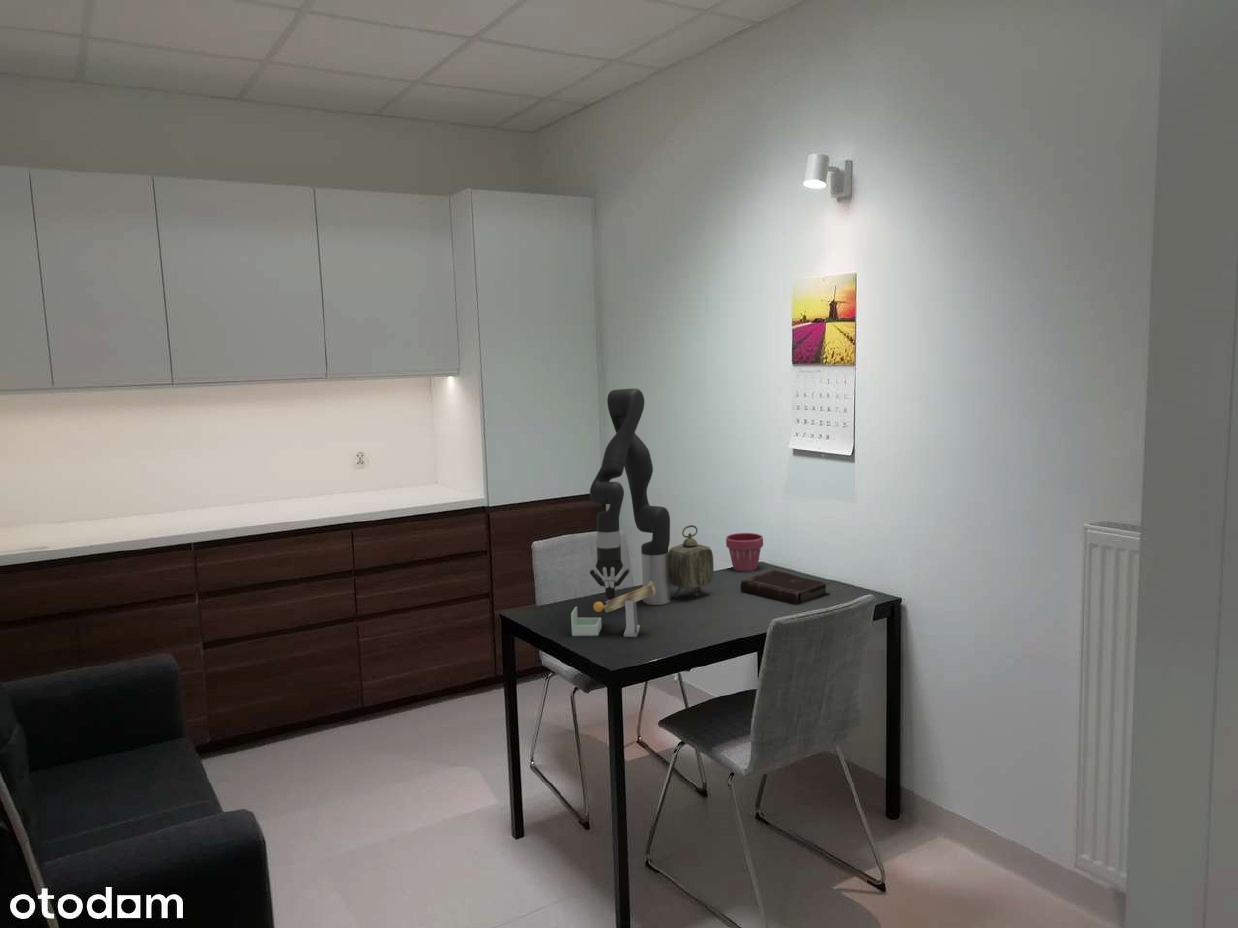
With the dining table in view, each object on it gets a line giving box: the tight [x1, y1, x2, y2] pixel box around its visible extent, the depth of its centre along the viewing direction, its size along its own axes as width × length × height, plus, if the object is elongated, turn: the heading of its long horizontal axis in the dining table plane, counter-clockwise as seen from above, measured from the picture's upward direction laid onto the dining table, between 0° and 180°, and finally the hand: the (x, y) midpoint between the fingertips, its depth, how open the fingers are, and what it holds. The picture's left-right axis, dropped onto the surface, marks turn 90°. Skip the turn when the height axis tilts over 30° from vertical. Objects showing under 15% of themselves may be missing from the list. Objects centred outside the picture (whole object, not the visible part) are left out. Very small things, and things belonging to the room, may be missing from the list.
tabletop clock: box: [668, 524, 715, 598], centre depth 310 cm, size 14×9×25 cm, turn 128°
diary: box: [740, 569, 830, 606], centre depth 310 cm, size 19×25×5 cm
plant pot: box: [725, 532, 764, 573], centre depth 346 cm, size 14×14×13 cm
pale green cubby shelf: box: [570, 606, 603, 637], centre depth 276 cm, size 8×8×7 cm
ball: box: [592, 601, 605, 613], centre depth 275 cm, size 3×3×3 cm
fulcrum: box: [623, 600, 641, 638], centre depth 274 cm, size 4×9×11 cm, turn 173°
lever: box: [603, 581, 656, 613], centre depth 276 cm, size 16×12×3 cm
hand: (610, 598), depth 281 cm, fingers closed
